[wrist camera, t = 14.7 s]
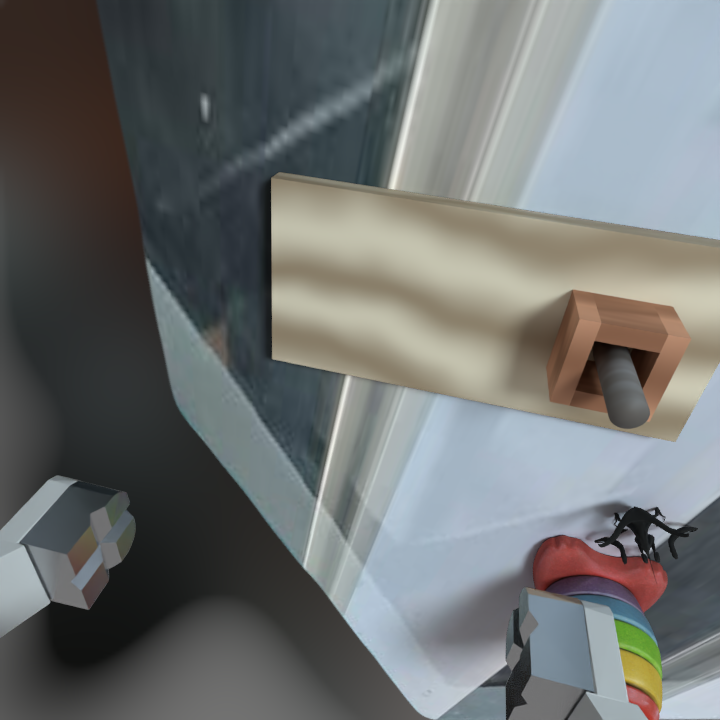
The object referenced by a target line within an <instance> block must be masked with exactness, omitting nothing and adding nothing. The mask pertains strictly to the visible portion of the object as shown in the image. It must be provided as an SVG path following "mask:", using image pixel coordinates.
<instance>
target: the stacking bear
mask: <svg viewBox="0 0 720 720" xmlns="http://www.w3.org/2000/svg"><path fill="white" fill-rule="evenodd" d="M651 565H652V567H651ZM652 568H653V570H652ZM653 572H654V573H653ZM654 575H655V577H654ZM533 579H534V584H535V588H536V589H538V590H542V591H547V592H551V593H556V594H560V595H565V596H569V597H574V598H578V599H579V600H583V601H588V602H592V603H597V604H602V605H606V606H608V607H609V608H610V609H611V611H612V613H613V617H614V622H615V628H616V633H617V639H618V645H619V650H620V656H621V661H622V667H623V672H624V678H625V683H626V689H627V695H628V700H629V702H630V703H633V704H636V705H638V706H639V707H640V709H641V710H642V712H643V713H644V714H645V716H646V717H647V719H648V720H659V713H660V711H661V707H662V681H661V680H662V666H661V658H660V652H659V649H658V645H657V641H656V638H655V636H654V633H653V631H652V628H651V626H650V624H649V622H648V620H647V619H646V617H645V615H644V613H643V612H645V611H646V610H647V609H649V608H650V607H651V606H652V605H653V604H654V603H655V602H656V601H657V600H658V599H659V598H660V596H661V595H662V594H663V592H664V590H665V588H666V586H667V581H668V580H667V574H666V572H665V571H664V570H663V568H662V566H661V565H660V564H659V563H657V562H655V561H652V560H651V564H650V561H649V559H648V563H644V562H643V560H642V557H627V564H624V563H623V561H622V558H621V557H612V556H607V555H604V554H601V553H599V552H596V551H594V550H593V549H592V548H590V547H589V546H588V545H587V544H585V543H584V542H583V541H581V540H580V539H577V538H571V537H568V536H565V535H562V536H558V537H554V538H549V539H548V540H546V541H545V542H543V544H542V545H541V546H540V548H539V550H538V552H537V554H536V556H535V559H534V564H533ZM655 579H656V580H655ZM656 582H657V583H656Z"/></svg>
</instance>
